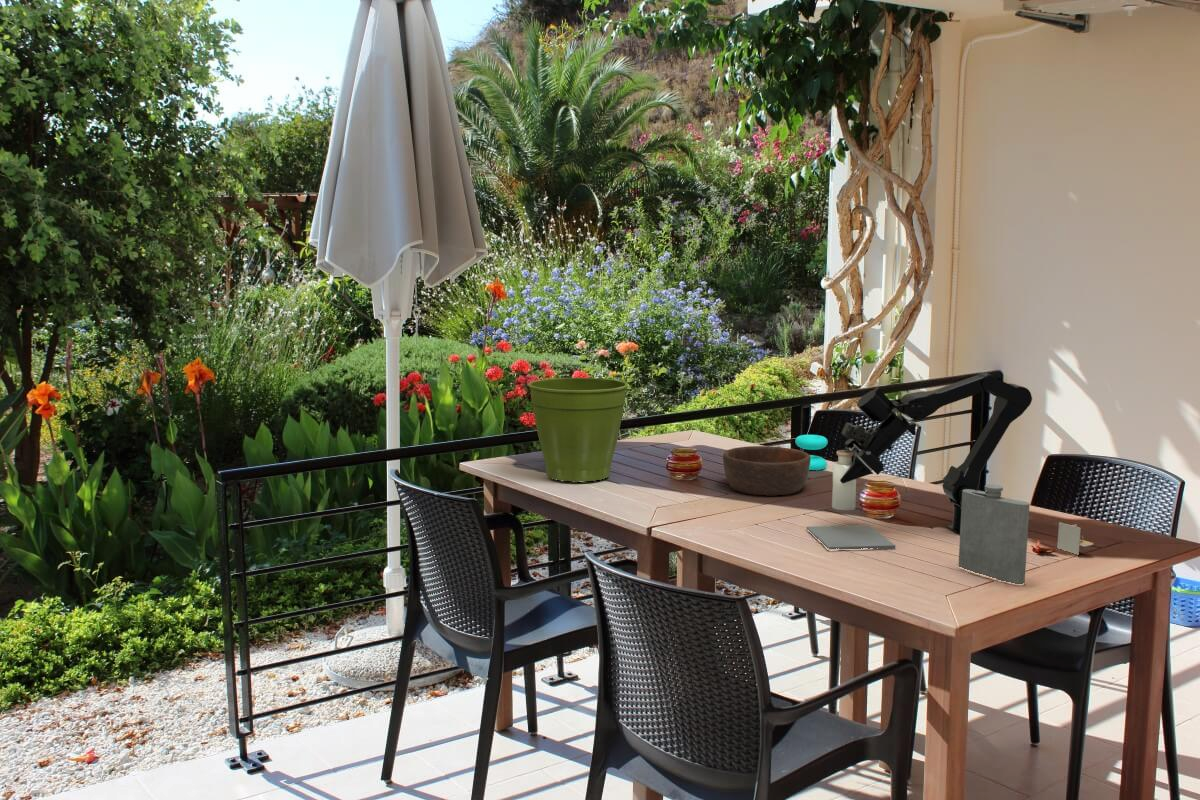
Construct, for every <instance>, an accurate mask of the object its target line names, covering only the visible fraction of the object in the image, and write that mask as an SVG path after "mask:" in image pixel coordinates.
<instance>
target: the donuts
mask: <svg viewBox="0 0 1200 800" xmlns="http://www.w3.org/2000/svg"><path fill="white" fill-rule="evenodd" d="M794 442H795V445H796V446H797V447H799V448H800V449H804V450H810V451H811V450H812V451H813V450H814V451H815V450H822V449H824V448H825V447H826V446H827V445H828V442H829V441H828V438H826V437H825V436H823V435H818V434H803V435H802V434H801V435H799V436H797V437H796V438H795V441H794ZM809 455H810V458H811V460H810V467H809V471H810V470H816V471H822V470H824V469H826V468H827V465H828V462H827V460H826V459H825V458H823V456H819V455H813V454H809ZM821 469H822V470H821Z"/></svg>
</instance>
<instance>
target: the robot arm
mask: <svg viewBox="0 0 1200 800" xmlns="http://www.w3.org/2000/svg"><path fill="white" fill-rule="evenodd" d="M984 392H987V393H988V394H991V395H993V396H994V397H995V398H994V402H993V409H992V414H991V416H990V417H989V419H988V420H987V423H986V424H985V426H984V428H983V430H982V431H981V433H980V434H979V436H978V437H977V439H976V441H975V443H974V444H973V446H972V447H971V450H970V451H969V452H968V454H967V456H966V457H965V458H964V459H965V460H964V461H963V463H962V464H960V465H958V466H957V467H956V466H954V465H951V466H950V467H949V469H948V472H947V474H946V475H945V476H944V477H943V478H942V480H943V483H942V490H943V493H944V494H945V495H946V496H947V497H948V499H949V503H951V504H953V510H952V511H953V513H952V524H950V525H949V524H948V525H947V527H946V528H947V529H948V530H950V531H952V532H954V533H955V534H957V535H960V526H961V507H962V490H965V489H971V490H976V491H978V488H979V486H980V480H981V473H982V471H983V470H984V468H985V467H986V465H987V463H988V462H989V459H990V458H991V456H992V454H993V453H994V451H995V450H996V448H997V446H998V445H999V444H1000V442H1001V440H1002V438H1003V436H1004V435H1005V433H1006V431H1007V430H1008V428H1009V426H1010V425H1011V423H1012V422H1014V421H1015V420H1017V419H1018V418H1020V416H1022V415H1023V414H1024V412H1025V411H1026V410H1027V409H1028V408H1029V406H1031V403H1032V401H1033V396H1032V393H1031V391H1030V390H1029V389H1028V388H1027V387H1024V386H1022V385H1019V384H1015V383H1008V382H1005V381H1003V380H1001V379H999V378H996V377H995V376H994V375H993V374H990V373H986V372H979V373H978V374H976V375H974V376H971V377H969V378H965V379H961V380H959V381H956V382H954V383H951V384H949V385H946V386H943V387H940V388H936V389H933V390H925V391H924V390H923V391H916V392H911V393H909V392H908V393H906V394H904V395H903V396H902V397H901V398H896V399H890V398H889V397H888V396H887V395H886V394H885V393H884V391H883V390H882V388H880V387H877V386H876V387H875V388H873V390H870V391H868V392H867V393H865V394H863V395H862V396H861V397H860V398H859V399H858V401H857V404H856V406H857V407H858V408H859V410H860V411H862V412H863V414H865V416H866V417H867V418H868V419H869V420H870V421H871V422H872V423H877V422H878V423H879V424H878V425H876V427H875V428H873V427H871V428H869V429H868V430H866V429H865V427H864V426H861V425H859V424H857V425H854V424H852V423H850V422H846V423H845V424H844V427H843V429H842V431H841V433H840V434H841V435H843V437H844V438H846V439H847V440H846V441H845V443H844V444H845V445H846V446H845V450H849V451H853V452H854V453H853V456H852V462H853V464H852V465H851V466H850V468H849V469H848V470H847V471H846V473H845V474H844V475H843V477H842V478H841V479H840V481H841V482H842V483H846V482H849V481H852V480H854V479H856V480H857V479H861V478H863V477H866V476H869V475H873V474H874V473H875V474H876V475H877V476H878V475H879V474H881V473H882V472H883V471H884V463H883V462H882V461H881V459H880V457H882V455H883V454H885V452H887V450H888V451H891V450H892V449H893V448H894V447H893V445H894V443H896V442H897V441H898V440H899V439H900V438H901V437H902V436H903V435H905V433H907V432H908V433H910V434H911V435H912V436H916V435H917V432H916V427H917V424H916V423H915V422H910V421H909V420H908V419H906V417H908V418H909V419H911V420H915V421H921V420H924V419H925V418H927V417H929V416H931V415H933V414H935V413H936V412H937V411H938V409H940V408H942V407H944V406H946V405H950V404H953V403H956V402H958V401H961V400H964V399H966V398H967V399H968V398H969V397H972V396H973V397H974V396H975V395H978V394H981V393H984ZM893 410H894V411H896V412H898V413H900V414H901V415H897V414H896V413H895V412H894V411H893Z"/></svg>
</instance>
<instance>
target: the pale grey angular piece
mask: <svg viewBox="0 0 1200 800" xmlns="http://www.w3.org/2000/svg"><path fill="white" fill-rule="evenodd" d="M1081 530H1082V528H1081V527H1079V526H1077V524H1072V525H1071V524H1068V523H1064V522H1061V521H1060V522H1058V532H1057V533H1058V534H1057V545H1056V549H1057V548H1058V549H1062V550H1064V551H1068V552H1071V553H1074V554H1077V555H1079V553H1080V546H1082V547H1089V546H1092V545H1094V542H1090V541H1087V540H1084V535H1081ZM1079 556H1080V555H1079Z"/></svg>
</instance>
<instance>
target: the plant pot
mask: <svg viewBox="0 0 1200 800" xmlns="http://www.w3.org/2000/svg"><path fill="white" fill-rule="evenodd" d="M628 386H629V384H628V382H625V381H622V380H618V379H610V378H599V377H558V378H547V379H546V378H545V379H544V378H543V379H539V380H533V381H530V382H528V387H529V388H530V395H531V396H530V397H531V403H532V409H533V415H534V420H535V421H534V422H535V426H536V431H537V436H538V439H539V440H538V441H539V445H540V449H541V453H542V457H543V460H544V464H545V470H546V471H545V472H546V476H547V478H549V477H550V478H549V479H551V478H553V479H557V480H563V481H574V482H573V483H577V482H579V481H594V482H597V481H596V480H600V481H603V480H606V479H607V478H608V477H609V476H610V474H611V464H612V461H613V458H614V454H615V450H616V448H617V443H618V439H619V434H620V430H621V429H620V428H621V424H622V418H623V412H624V405H625V403H626V393H627V388H628ZM605 478H606V479H605ZM553 479H552V480H553ZM602 479H603V480H602ZM557 480H556V481H557ZM563 481H562V482H563Z"/></svg>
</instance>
